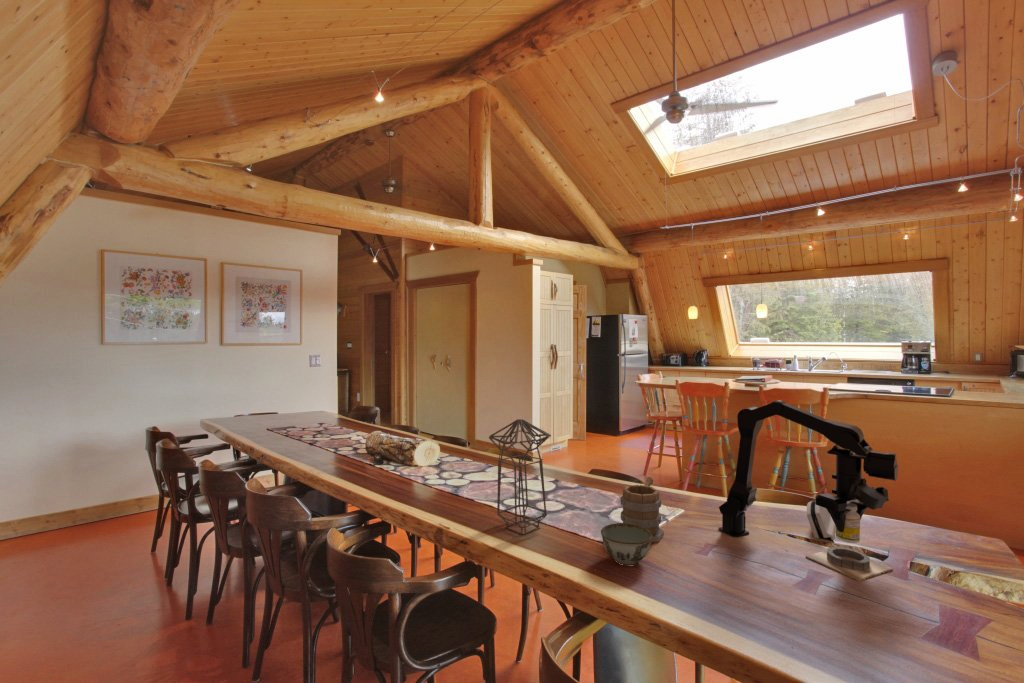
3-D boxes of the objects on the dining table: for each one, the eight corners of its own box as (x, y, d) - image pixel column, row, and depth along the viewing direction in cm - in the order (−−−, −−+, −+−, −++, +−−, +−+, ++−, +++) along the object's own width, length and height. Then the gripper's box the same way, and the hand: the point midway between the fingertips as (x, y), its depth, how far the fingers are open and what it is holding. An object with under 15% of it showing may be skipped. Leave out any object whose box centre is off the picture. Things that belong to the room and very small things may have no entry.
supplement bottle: (858, 545, 128) (859, 509, 127) (834, 539, 131) (834, 504, 131) (860, 538, 132) (861, 503, 132) (837, 533, 135) (837, 499, 135)
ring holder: (858, 580, 122) (858, 571, 122) (805, 557, 135) (805, 548, 135) (892, 570, 128) (892, 560, 128) (838, 548, 141) (838, 540, 141)
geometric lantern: (520, 542, 145) (517, 425, 145) (488, 528, 157) (485, 419, 157) (557, 527, 156) (554, 418, 156) (523, 515, 167) (521, 413, 167)
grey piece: (834, 542, 145) (821, 508, 147) (816, 543, 148) (804, 510, 150) (838, 524, 159) (825, 494, 160) (821, 526, 161) (810, 496, 163)
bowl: (653, 554, 137) (653, 526, 137) (650, 576, 124) (650, 545, 124) (604, 547, 142) (604, 520, 142) (597, 568, 129) (597, 538, 129)
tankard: (655, 546, 142) (655, 495, 142) (614, 537, 149) (614, 488, 149) (672, 524, 159) (672, 478, 159) (634, 516, 166) (634, 472, 166)
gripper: (857, 485, 120) (856, 548, 120) (903, 476, 127) (902, 536, 128) (814, 473, 130) (813, 531, 131) (858, 466, 138) (857, 521, 138)
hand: (847, 530), depth 131 cm, fingers closed on supplement bottle, 5 cm apart
